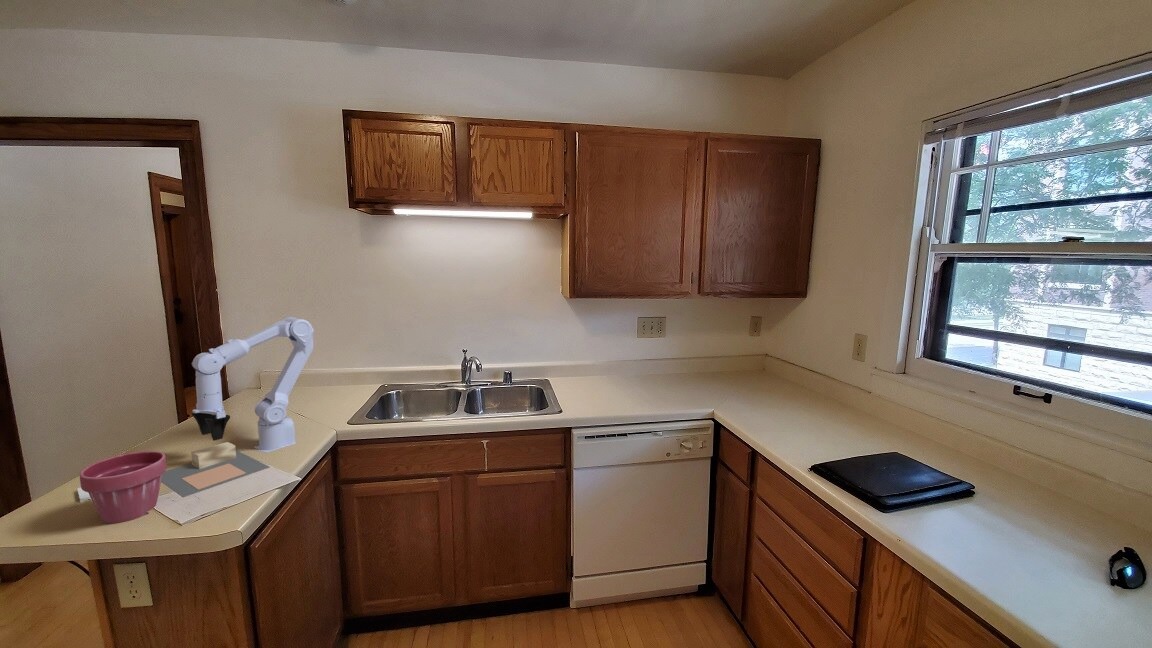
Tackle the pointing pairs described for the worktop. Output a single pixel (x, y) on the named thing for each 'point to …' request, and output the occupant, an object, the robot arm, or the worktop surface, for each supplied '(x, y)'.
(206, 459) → the card box
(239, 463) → the mat
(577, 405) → the worktop surface
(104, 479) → the plant pot
